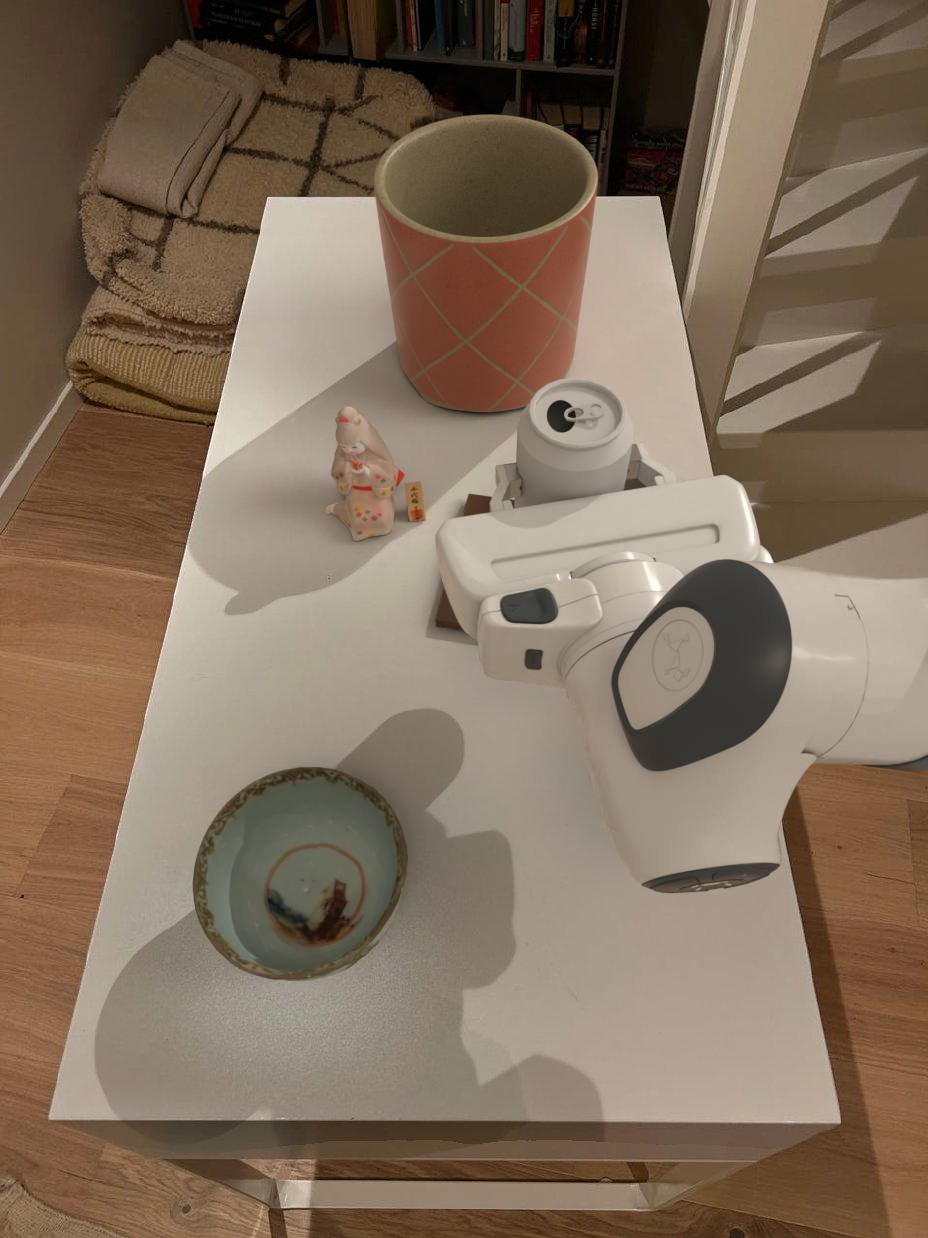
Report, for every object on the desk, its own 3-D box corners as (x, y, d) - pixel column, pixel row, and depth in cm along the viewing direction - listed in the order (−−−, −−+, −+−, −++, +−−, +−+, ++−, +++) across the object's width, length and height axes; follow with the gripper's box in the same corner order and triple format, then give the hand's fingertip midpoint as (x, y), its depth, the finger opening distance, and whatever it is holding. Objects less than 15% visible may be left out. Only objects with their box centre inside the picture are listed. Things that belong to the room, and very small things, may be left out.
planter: (394, 302, 100) (374, 118, 83) (569, 294, 100) (585, 108, 83) (393, 429, 90) (371, 247, 73) (589, 420, 90) (612, 236, 73)
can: (513, 490, 70) (517, 367, 60) (612, 491, 70) (633, 367, 60) (513, 570, 66) (518, 451, 56) (619, 571, 66) (642, 452, 56)
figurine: (322, 544, 82) (294, 434, 73) (331, 494, 86) (306, 385, 78) (423, 541, 81) (408, 429, 72) (427, 491, 86) (413, 380, 77)
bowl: (398, 1019, 60) (387, 993, 54) (199, 993, 61) (164, 965, 55) (428, 820, 68) (421, 776, 61) (250, 801, 69) (225, 755, 62)
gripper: (804, 567, 53) (723, 402, 61) (457, 626, 52) (418, 450, 59) (776, 626, 59) (705, 468, 66) (460, 682, 57) (424, 513, 65)
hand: (567, 460), depth 63 cm, fingers closed on can, 7 cm apart
